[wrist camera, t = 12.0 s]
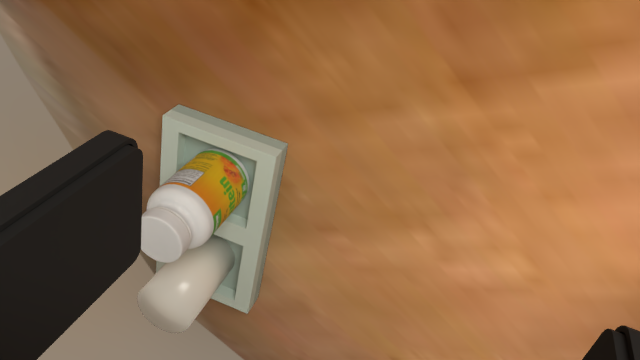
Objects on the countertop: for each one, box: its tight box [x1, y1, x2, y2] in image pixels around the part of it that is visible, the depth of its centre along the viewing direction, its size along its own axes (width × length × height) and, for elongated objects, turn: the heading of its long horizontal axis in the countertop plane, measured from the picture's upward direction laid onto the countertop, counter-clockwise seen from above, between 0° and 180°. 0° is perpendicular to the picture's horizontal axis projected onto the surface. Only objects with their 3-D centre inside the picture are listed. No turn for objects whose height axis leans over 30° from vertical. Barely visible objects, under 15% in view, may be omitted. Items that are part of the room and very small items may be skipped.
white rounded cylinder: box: [137, 234, 235, 333], centre depth 48 cm, size 5×5×8 cm
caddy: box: [156, 105, 288, 314], centre depth 49 cm, size 18×10×2 cm, turn 168°
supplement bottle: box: [141, 148, 250, 263], centre depth 42 cm, size 5×5×10 cm
